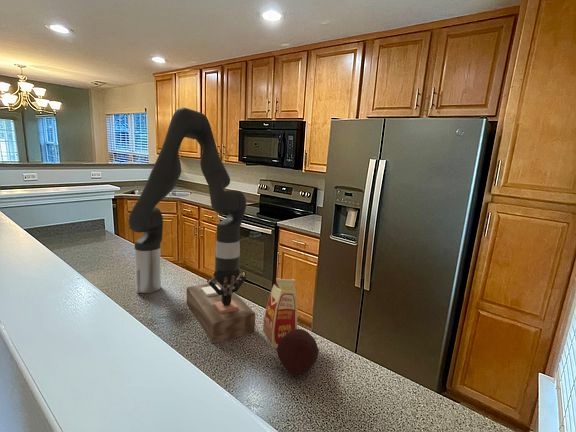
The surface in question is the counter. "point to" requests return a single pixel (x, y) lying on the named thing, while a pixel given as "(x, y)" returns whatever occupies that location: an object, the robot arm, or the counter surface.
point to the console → (220, 315)
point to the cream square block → (209, 291)
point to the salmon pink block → (225, 307)
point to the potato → (297, 352)
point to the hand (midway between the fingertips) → (226, 304)
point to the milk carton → (280, 311)
